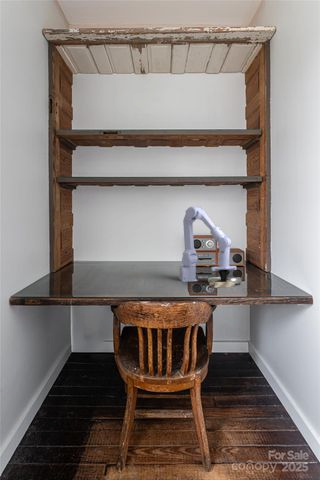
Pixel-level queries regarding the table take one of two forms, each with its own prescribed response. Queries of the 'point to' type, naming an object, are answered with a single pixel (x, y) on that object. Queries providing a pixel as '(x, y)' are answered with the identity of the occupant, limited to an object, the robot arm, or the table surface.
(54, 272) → the table surface
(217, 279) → the v block
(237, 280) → the axle
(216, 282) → the parallel rails
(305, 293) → the table surface
